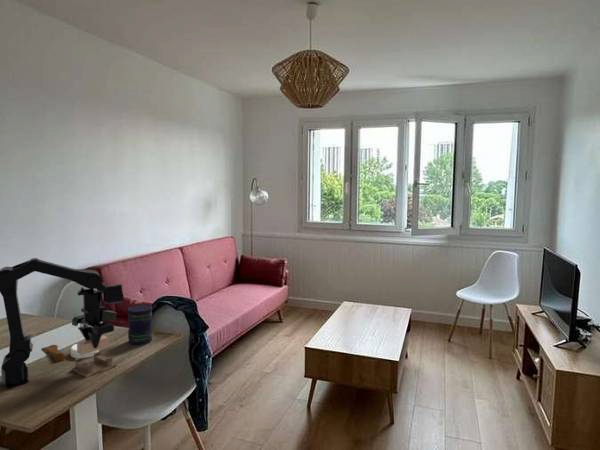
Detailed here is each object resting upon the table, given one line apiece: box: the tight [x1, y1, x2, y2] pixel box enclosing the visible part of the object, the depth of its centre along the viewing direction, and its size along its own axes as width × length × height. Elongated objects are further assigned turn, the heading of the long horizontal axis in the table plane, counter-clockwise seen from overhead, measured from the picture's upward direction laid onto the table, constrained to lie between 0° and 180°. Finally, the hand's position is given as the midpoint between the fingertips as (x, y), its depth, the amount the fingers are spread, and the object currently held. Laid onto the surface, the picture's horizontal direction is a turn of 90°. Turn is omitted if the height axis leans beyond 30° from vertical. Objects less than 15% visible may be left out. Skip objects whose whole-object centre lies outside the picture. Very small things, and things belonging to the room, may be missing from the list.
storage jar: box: [127, 304, 153, 346], centre depth 177 cm, size 10×10×15 cm
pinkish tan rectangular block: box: [76, 335, 109, 355], centre depth 149 cm, size 10×3×4 cm, turn 145°
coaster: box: [70, 343, 100, 359], centre depth 163 cm, size 10×10×4 cm
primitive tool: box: [41, 344, 66, 363], centre depth 163 cm, size 19×6×4 cm, turn 46°
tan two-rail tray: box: [71, 351, 117, 378], centre depth 150 cm, size 11×10×4 cm
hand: (93, 346), depth 150 cm, fingers closed on pinkish tan rectangular block, 3 cm apart
